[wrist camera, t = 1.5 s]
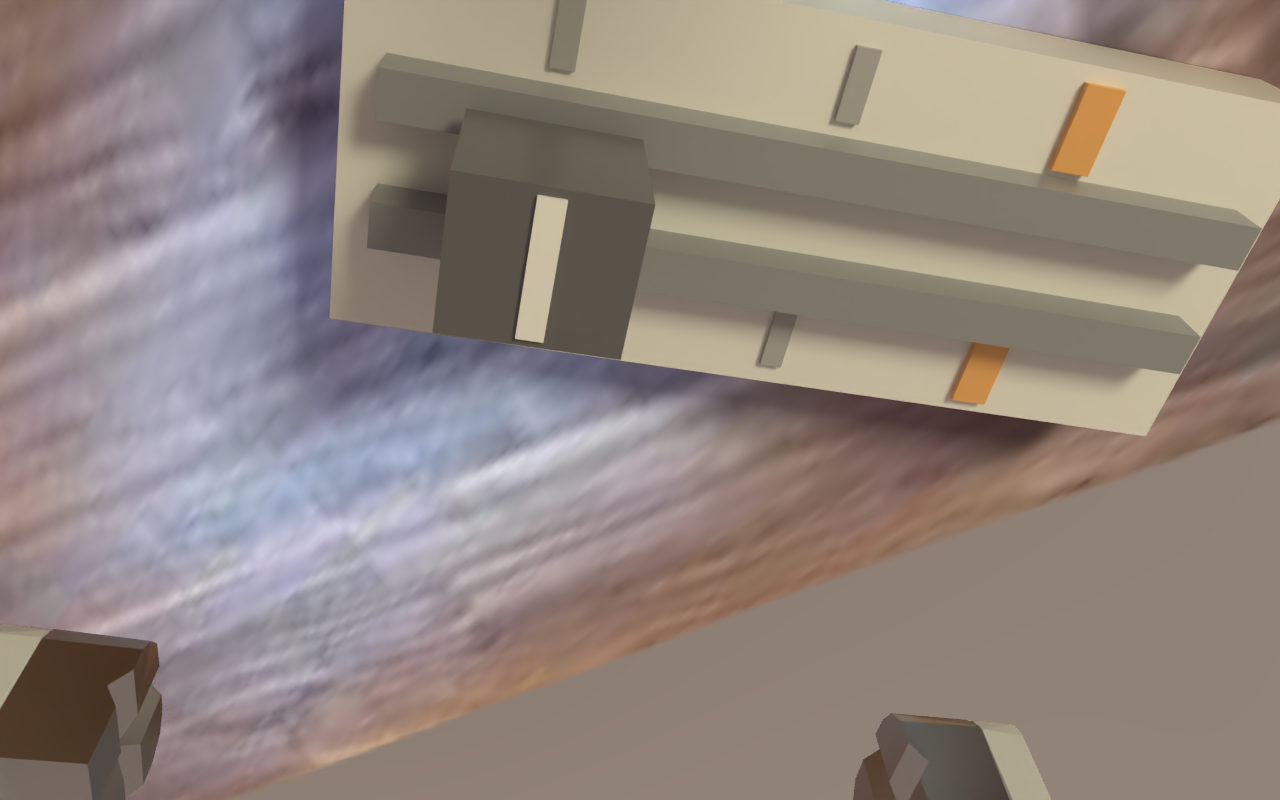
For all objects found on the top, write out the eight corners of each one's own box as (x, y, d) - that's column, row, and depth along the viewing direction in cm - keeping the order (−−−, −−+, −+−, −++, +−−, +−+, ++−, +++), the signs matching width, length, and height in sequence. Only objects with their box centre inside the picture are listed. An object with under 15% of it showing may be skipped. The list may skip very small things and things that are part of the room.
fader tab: (455, 227, 26) (432, 335, 21) (471, 87, 24) (449, 171, 20) (611, 252, 27) (620, 362, 22) (639, 117, 25) (655, 206, 20)
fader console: (349, 268, 30) (320, 340, 26) (370, -107, 25) (338, -79, 21) (1102, 383, 34) (1165, 459, 30) (1260, 79, 28) (1358, 129, 25)
